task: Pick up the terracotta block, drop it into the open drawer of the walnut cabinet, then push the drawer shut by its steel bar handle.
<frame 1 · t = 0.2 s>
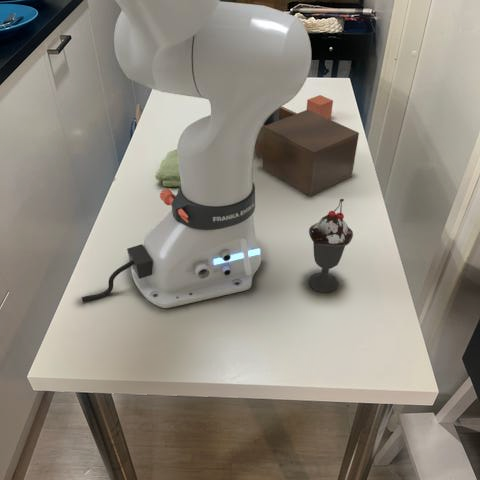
washcloth: (201, 174, 107), on the table
cabinet: (306, 172, 107), on the table
block: (318, 117, 126), on the table
sundae: (323, 283, 82), on the table
drawer: (271, 132, 110), point 5 cm above the table, slide at 8.0 cm
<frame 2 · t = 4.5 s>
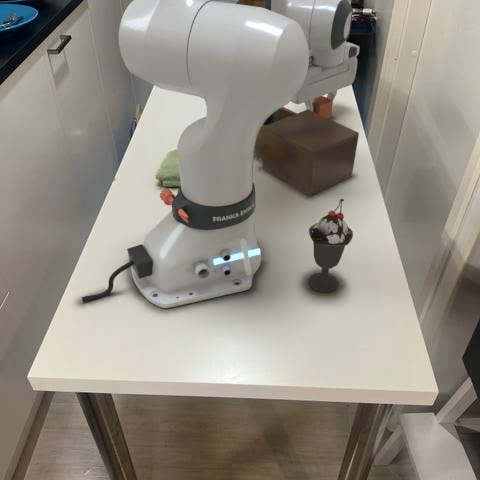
hand: (319, 111, 125), 2 cm above the table, tool pointing down, fingers closed on block, 4 cm apart
block: (318, 117, 126), on the table, touching gripper
everything else where it was.
when the fingers open (9 cm above the table, at t = 10.8 s): block drops 5 cm, resting on drawer.
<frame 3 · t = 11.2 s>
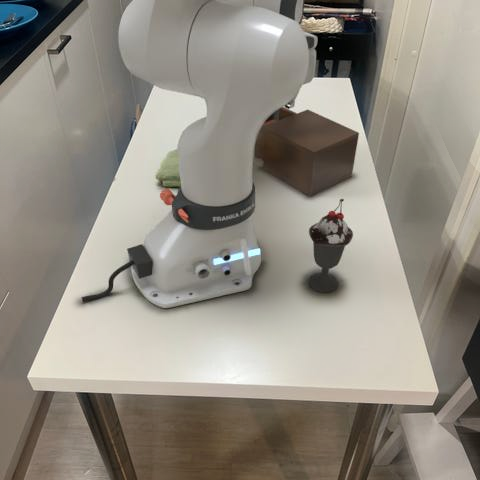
hand: (273, 113, 107), 9 cm above the table, tool pointing down, fingers open, 8 cm apart
block: (271, 144, 112), point 2 cm above the table, touching drawer
drawer: (271, 132, 110), point 5 cm above the table, slide at 8.0 cm, touching block
everything else where it was.
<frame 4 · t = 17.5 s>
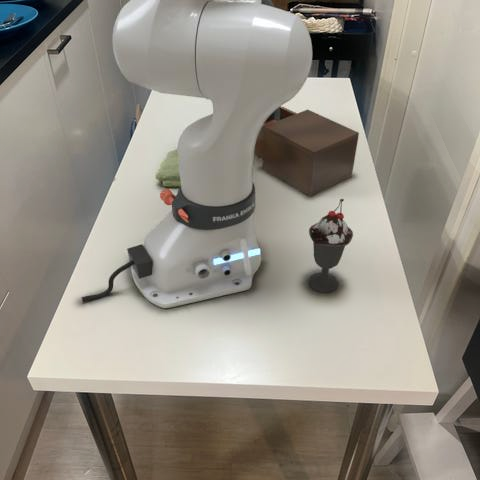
hand: (241, 116, 116), 5 cm above the table, tool pointing down, fingers closed
drawer: (271, 132, 110), point 5 cm above the table, slide at 7.7 cm, touching block, gripper
everything else where it was.
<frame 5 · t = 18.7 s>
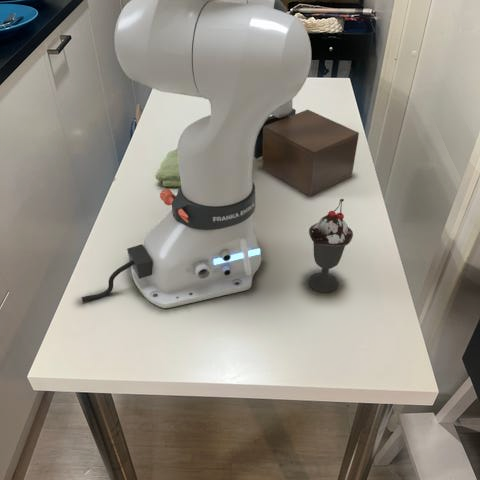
hand: (255, 123, 113), 5 cm above the table, tool pointing down, fingers closed
block: (286, 153, 109), point 2 cm above the table, touching drawer
drawer: (286, 140, 108), point 5 cm above the table, slide at 3.0 cm, touching block, gripper
everything else where it was.
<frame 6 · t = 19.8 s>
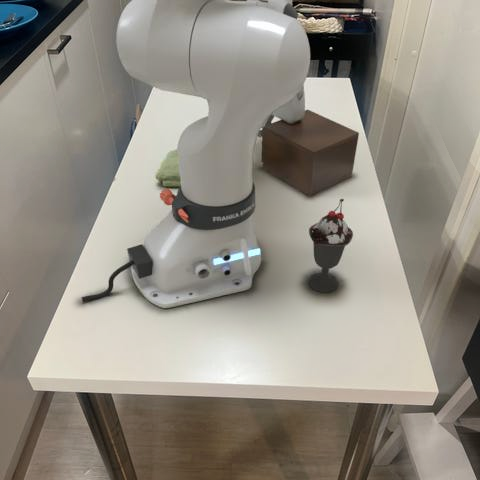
hand: (265, 128, 111), 5 cm above the table, tool pointing down, fingers closed
block: (296, 158, 108), point 2 cm above the table, touching drawer
drawer: (296, 145, 106), point 5 cm above the table, slide at 0.0 cm, touching block, cabinet, gripper
everything else where it was.
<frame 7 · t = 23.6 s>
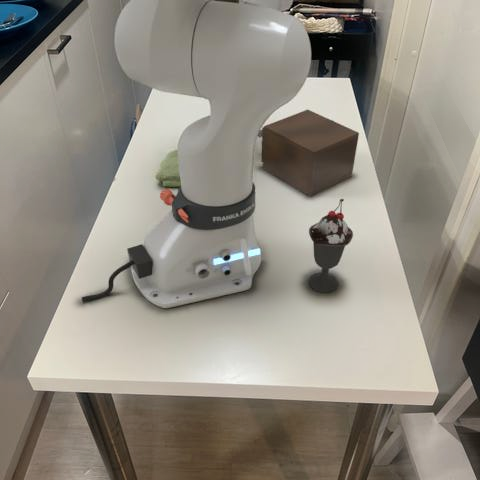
hand: (251, 27, 101), 24 cm above the table, tool pointing down, fingers closed
drawer: (296, 145, 106), point 5 cm above the table, slide at 0.0 cm, touching block, cabinet
everything else where it was.
at the end: block inside the target area in the cabinet (1.5 cm from its centre), point 2.0 cm above the cabinet's base; drawer slide at 0.0 cm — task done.
